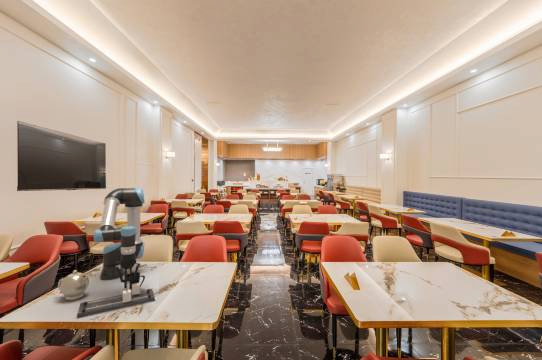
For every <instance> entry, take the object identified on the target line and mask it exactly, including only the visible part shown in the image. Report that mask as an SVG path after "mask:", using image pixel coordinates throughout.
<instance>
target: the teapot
mask: <svg viewBox="0 0 542 360" xmlns="http://www.w3.org/2000/svg"><path fill="white" fill-rule="evenodd" d="M89 285H90V279H89V277H88V276H87V274H85V273H83V272H78V270H76V269H74V270H72V273H70V274H68V275H66V277H63V278H60V279H59V281H58V283H57V287H58V290H59V291H60V293H61V294H62V296H65V297H64V298H65V300H66V301H75V300H79V299H81V298H83V297H84V295H85V292H86V290H87V289H88V287H89Z"/></svg>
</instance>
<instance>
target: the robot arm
mask: <svg viewBox="0 0 542 360" xmlns="http://www.w3.org/2000/svg"><path fill="white" fill-rule="evenodd" d="M145 202H146V201H145V194H144V189H143V188H140V187H126V188H125V187H124V188H123V187H120V188H116V189H115V188H114V189H113V190H112V191H110V192H108V194H106V196H105V197H104V201H103V205H104V208H103V213H102V216H101V219H100V220H101V222H100V225H99V229H95V230H94V232H93V242H95V243H107V242H114V243H111V244H107V245H105V246H104V247H103V249H102V268H101V271H100V273H99V279H100V280H101V281H102V280H103V281H109V280H110V281H111V280H115V279H116V280H117V279H119V281H120V283H122V284H123V283H124V284H123V285H124V289H126V290H130V287H132V281H133V280H135V279H136V275H137V272H138V271H139V267H140V266H141V262H138V261H137V260H138V259H142V258H143V256H144V251H145V242H143V239H142V238H141V208H142V207H143V204H145ZM120 205H124V208H126V210H127V211H126V213H127V214H126V215H127V216H126V217H127V220H126V222H127V225H126V226H123V227H116V228H115V224H116V219H117V213H118V208H119V206H120ZM115 241H120V242H115ZM133 268H134V276H133V278H132V273H133ZM128 271H129V272H128ZM127 274H129V281H127ZM123 276H124V278H123Z"/></svg>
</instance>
